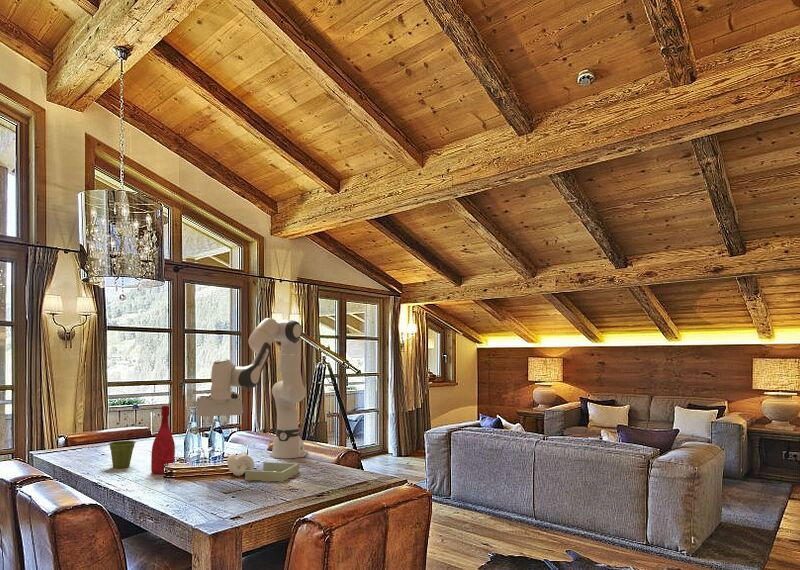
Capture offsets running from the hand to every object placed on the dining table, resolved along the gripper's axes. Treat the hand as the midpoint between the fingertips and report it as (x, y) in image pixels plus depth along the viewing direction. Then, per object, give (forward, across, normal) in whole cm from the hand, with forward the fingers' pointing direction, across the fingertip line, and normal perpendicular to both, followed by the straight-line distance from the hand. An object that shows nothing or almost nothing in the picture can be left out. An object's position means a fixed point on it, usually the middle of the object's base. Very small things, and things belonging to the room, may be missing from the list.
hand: (219, 425), depth 272 cm
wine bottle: (+21, -24, +10) cm, 33 cm away
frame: (+21, +22, -14) cm, 33 cm away
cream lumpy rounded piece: (+21, +8, -5) cm, 24 cm away
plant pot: (+21, -42, +29) cm, 55 cm away
